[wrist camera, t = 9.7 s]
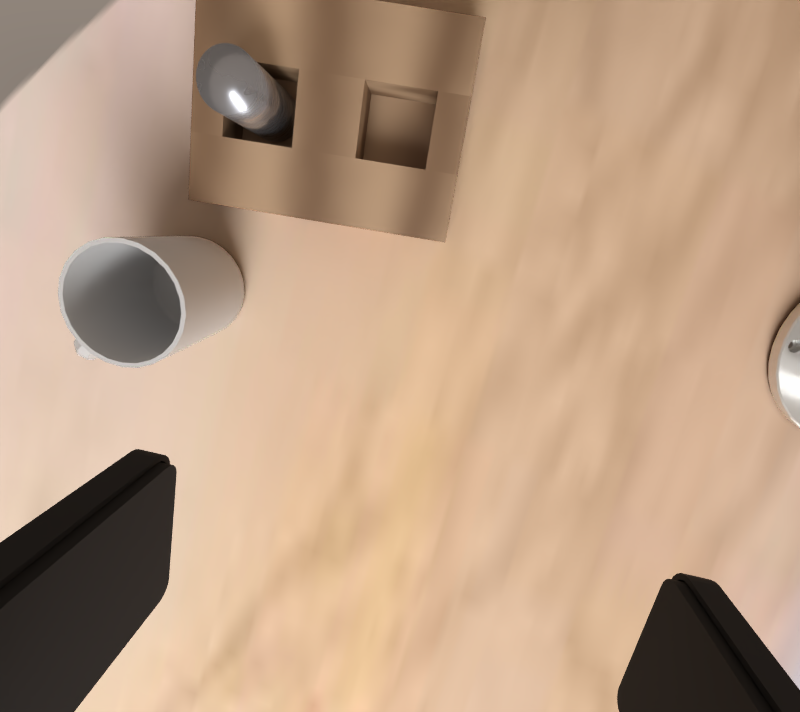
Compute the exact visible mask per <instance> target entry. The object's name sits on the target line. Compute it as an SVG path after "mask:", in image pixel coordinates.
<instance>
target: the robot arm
mask: <svg viewBox="0 0 800 712" xmlns="http://www.w3.org/2000/svg"><path fill="white" fill-rule="evenodd" d="M768 379H769V384H770V389H771V394H772V396H773V398H774V400H775V402H776V404H777V407H778V408H779V409H780V411H781V412H782V413H783V414H784V416H785V417H786V418H787V419H788V420H789V421H790V422H792V423H793V424H794V425H795V426H797V427H798V428H799V429H800V303H799V304H798V305H797V306H796V307H795V308H794V309H793V311H792V312H791V313H790V314H789V316H788V317H787V319H786V320H785V322H784V323H783V325H782V326H781V328H780V329H779V332H778V334H777V336H776V338H775V341H774V343H773V345H772V349H771V354H770V358H769V368H768ZM175 486H176V468H175V466H174V465H170V461H169V458H168V457H167V456H166V455H161V454H157V453H153V452H148V451H144V450H139V449H135V450H133V451H131V452H130V453H128V454H127V455H126V456H124V457H123V458H121V459H120V460H118V461H117V462H115V463H114V464H113V465H111V466H110V467H108V468H107V469H105V470H104V471H103V472H101V473H100V474H98V475H97V476H95V477H94V478H92V479H91V480H90V481H88V482H87V483H85V484H84V485H82V486H81V487H80V488H78V489H77V490H75V491H74V492H72V493H71V494H70V495H68V496H67V497H65V498H64V499H62V500H61V501H59V502H58V503H57V504H55V505H54V506H52V507H51V508H49V509H48V510H47V511H45V512H44V513H42V514H41V515H39V516H38V517H36V518H35V519H34V520H32V521H31V522H29V523H28V524H26V525H25V526H24V527H22V528H21V529H19V530H18V531H16V532H15V533H13V534H12V535H11V536H9V537H8V538H6V539H5V540H3V541H2V542H1V543H0V712H74V711H75V710H76V709H77V707H78V706H79V705H80V703H81V702H82V701H83V700H84V698H85V697H86V696H87V694H88V693H89V692H90V691H91V689H92V688H93V687H94V685H95V684H96V683H97V682H98V680H99V679H100V678H101V676H102V675H103V674H104V673H105V671H106V670H107V669H108V667H109V666H110V665H111V664H112V662H113V661H114V660H115V658H116V657H117V656H118V655H119V653H120V652H121V651H122V649H123V648H124V647H125V646H126V644H127V643H128V642H129V640H130V639H131V638H132V637H133V635H134V634H135V633H136V631H137V630H138V629H139V628H140V626H141V625H142V624H143V622H144V621H145V620H146V618H147V617H148V616H149V615H150V613H151V612H152V611H153V609H154V608H155V607H156V606H157V604H158V603H159V602H160V600H161V599H162V597H163V595H164V593H165V591H166V588H167V585H168V581H169V569H170V555H171V541H172V528H173V514H174V500H175ZM617 700H618V709H619V712H800V690H799V689H798V687H797V686H796V685H795V683H794V682H793V681H792V680H791V678H790V677H789V676H788V674H787V673H786V672H785V670H784V669H783V668H782V667H781V665H780V664H779V663H778V661H777V660H776V659H775V657H774V656H773V655H772V654H771V652H770V651H769V650H768V648H767V647H766V646H765V645H764V643H763V642H762V641H761V639H760V638H759V637H758V635H757V634H756V633H755V632H754V630H753V629H752V628H751V626H750V625H749V624H748V622H747V621H746V620H745V619H744V617H743V616H742V615H741V613H740V612H739V611H738V609H737V608H736V607H735V606H734V604H733V603H732V602H731V600H730V599H729V598H728V596H727V595H726V594H725V593H724V591H723V590H722V589H721V587H720V586H719V585H718V584H717V583H716V582H714V581H712V580H709V579H705V578H700V577H696V576H691V575H687V574H683V573H679V574H676V575H675V576H673V578H672V579H666V580H665V581H664V582H663V584H662V586H661V588H660V590H659V593H658V595H657V598H656V600H655V602H654V605H653V607H652V609H651V612H650V614H649V617H648V619H647V621H646V624H645V626H644V629H643V631H642V633H641V636H640V638H639V641H638V643H637V645H636V648H635V650H634V653H633V655H632V657H631V660H630V662H629V665H628V667H627V669H626V672H625V674H624V676H623V679H622V681H621V684H620V686H619V689H618V696H617Z"/></svg>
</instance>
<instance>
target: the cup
mask: <svg viewBox="0 0 800 712" xmlns="http://www.w3.org/2000/svg"><path fill="white" fill-rule="evenodd" d="M58 298H59V304H60V310H61V313H62V315H63V318H64V320H65V323H66V325H67V327H68V329H69V330H70V332H71V333H72V334H73V336H74V337H75V341H74V346H75V349H76V352H77V355H79V356H81V357H83V358H85V359H87V360H94V359H98V358H99V359H101V360H103V361H105V362H107V363H110V364H113V365H117V366H120V367H134V368H139V367H143V366H147V365H151V364H154V363H156V362H159V361H161V360H163V359H165V358H167V357H169V356H171V355H173V354H175V353H177V352H179V351H181V350H183V349H186V348H188V347H190V346H192V345H194V344H196V343H198V342H200V341H202V340H204V339H206V338H208V337H210V336H213V335H215V334H216V333H218V332H220V331H222V330H223V329H225V328H227V327H228V326H229V325H230V324H231V323H232V322H233V321H234V320H235V319H236V318H237V316H238V314H239V312H240V310H241V308H242V305H243V300H244V281H243V278H242V275H241V272H240V269H239V267H238V266H237V264H236V262H235V261H234V259H233V258H232V256H231V255H230V254H229V253H227V252H226V251H225V250H224V249H223V248H222V247H221V246H219V245H217V244H216V243H214V242H212V241H211V240H207V239H204V238H201V237H196V236H148V237H104V238H100V239H97V240H93V241H90V242H87V243H86V244H84V245H83V246H81V247H80V248H78V249H77V250H75V251H74V252H73V254H72V255H71V256H70V257H69V259H68V260H67V261H66V263H65V265H64V267H63V270H62V272H61V275H60V277H59V288H58Z"/></svg>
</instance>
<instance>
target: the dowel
mask: <svg viewBox="0 0 800 712" xmlns="http://www.w3.org/2000/svg"><path fill="white" fill-rule="evenodd" d="M196 83H197V88H198V91H199V93H200V95H201V97H202V99H203V100H204V102H205V103H206V104H207V105H208V106H209V107H210V108H212V109H213V110H214V111H216V112H218V113H220V114H221V115H223V116H225V117H227V118H228V119H230V120H232V121H234V122H235V123H237V124H239V125H241V126H242V127H244V128H246V129H248V130H249V131H251V132H253V133H255V134H256V135H258V136H260V137H262V138H263V139H265V140H267V141H270V142H283V141H285V140H287V139H289V138H290V137H291V136H292V135H293V130H294V119H295V108H296V101H295V99H294V98H293V97H292V96H291V95H290V94H289V93H288V92H287V91H286V90H285V89H284V88H283V87H282V86H281V85H280V84H279V83H278V82H277V81H276V80H275V79H274V78H273V77H272V76H271V75H270V74H269V73H268V72H267V71H266V70H265V69H263V68H262V67H261V66H260V65H259V64H258V63H257V62H256V61H255V60H254V59H253V58H252V57H251V56H250V55H249V54H248V53H247V52H246V51H245V50H243V49H242V48H241V47H239V46H237V45H234V44H230V43H220V44H216V45H214V46H212V47H210V48H209V49H208V50H207V51H205V53H204V54H203V55H202V57H201V58H200V60H199V62H198V66H197V70H196Z"/></svg>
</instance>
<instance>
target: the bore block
mask: <svg viewBox="0 0 800 712" xmlns="http://www.w3.org/2000/svg"><path fill="white" fill-rule="evenodd" d="M485 19H486V17H480V16H474V15H467V14H461V13H455V12H448V11H442V10H436V9H429V8H423V7H416V6H410V5H404V4H397V3H391V2H385V1H378V0H196V11H195V37H194V64H193V91H192V117H191V144H190V170H189V197H188V200H193V201H199V202H205V203H211V204H217V205H223V206H229V207H235V208H241V209H247V210H253V211H259V212H265V213H271V214H277V215H283V216H289V217H295V218H301V219H307V220H313V221H319V222H325V223H331V224H337V225H343V226H349V227H355V228H361V229H367V230H373V231H379V232H385V233H392V234H398V235H404V236H410V237H416V238H422V239H428V240H434V241H440V242H445V241H446V235H447V230H448V224H449V219H450V213H451V208H452V202H453V197H454V191H455V186H456V180H457V174H458V169H459V163H460V158H461V152H462V147H463V141H464V136H465V130H466V125H467V119H468V113H469V108H470V102H471V97H472V91H473V86H474V80H475V75H476V69H477V64H478V58H479V53H480V47H481V41H482V36H483V30H484V25H485ZM220 43H230V44H234V45H237V46H239V47H241V48H242V49H243V50H245V51H246V52H247V53H248V54H249V55H250V56H251V57H252V58H253V59H254V60H255V61H256V62H257V63H258V64H259V65H260V66H261V67H262V68H263V69H265V70H266V71H267V72H268V73H269V74H270V75H271V76H272V77H273V78H274V79H275V80H276V81H277V82H278V83H279V84H280V85H281V86H282V87H283V88H284V89H285V90H286V91H287V92H288V93H289V94H290V95H291V96H292V97H293V98H294V99H295V101H296V108H295V119H294V130H293V135H292V136H291V137H290V138H289V139H287V140H285V141H283V142H270V141H267V140H265V139H263V138H262V137H260V136H258V135H256V134H255V133H253V132H251V131H249V130H248V129H246V128H244V127H242V126H241V125H239V124H237V123H235V122H234V121H232V120H230V119H228V118H227V117H225V116H223V115H221V114H220V113H218V112H216V111H214V110H213V109H212V108H210V107H209V106H208V105H207V104H206V103H205V102H204V100H203V99H202V97H201V95H200V93H199V91H198V88H197V83H196V70H197V66H198V62H199V60H200V58H201V57H202V55H203V54H204V53H205V51H207V50H208V49H209V48H210V47H212V46H214V45H216V44H220Z"/></svg>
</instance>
